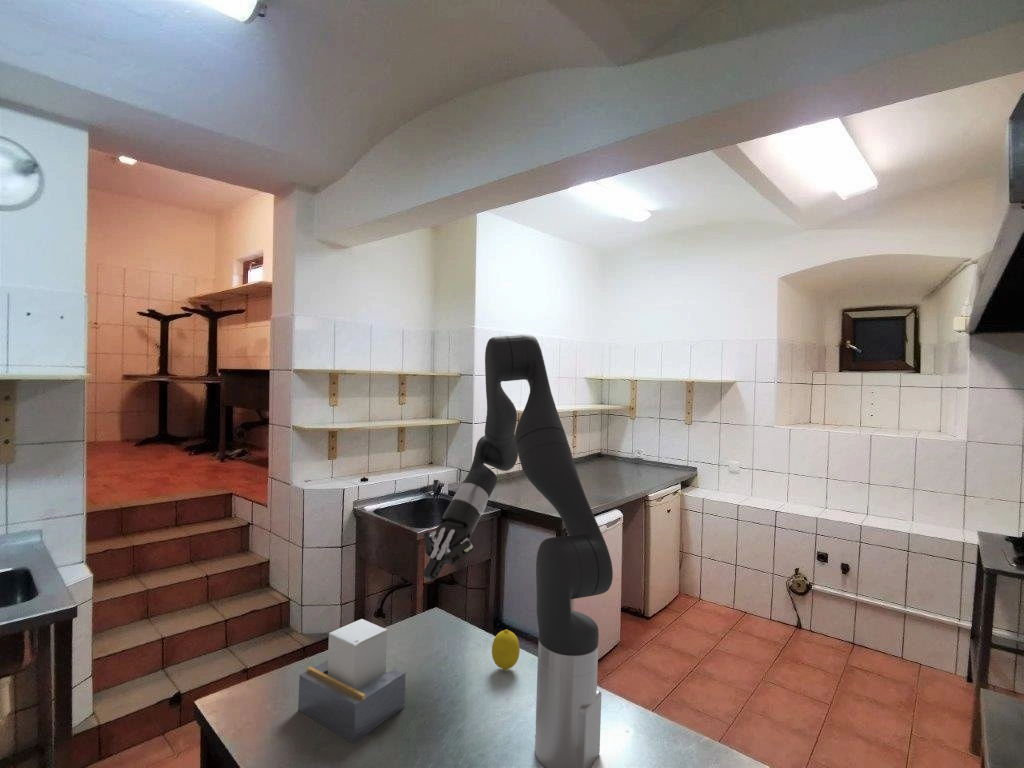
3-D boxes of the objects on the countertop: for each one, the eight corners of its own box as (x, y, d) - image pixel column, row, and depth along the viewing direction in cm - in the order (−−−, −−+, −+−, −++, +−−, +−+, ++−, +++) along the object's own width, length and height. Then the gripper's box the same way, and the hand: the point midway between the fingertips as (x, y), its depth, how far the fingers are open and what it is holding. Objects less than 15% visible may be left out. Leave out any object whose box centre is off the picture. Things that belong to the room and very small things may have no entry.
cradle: (404, 707, 87) (405, 668, 87) (353, 743, 78) (355, 700, 78) (350, 680, 95) (351, 644, 95) (298, 710, 85) (299, 671, 85)
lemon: (519, 663, 102) (521, 624, 102) (517, 679, 97) (519, 637, 97) (493, 661, 103) (494, 622, 103) (489, 676, 97) (490, 635, 97)
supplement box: (386, 701, 89) (389, 629, 89) (351, 722, 83) (354, 645, 83) (359, 685, 93) (362, 617, 93) (324, 705, 87) (327, 631, 87)
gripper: (436, 494, 114) (395, 562, 104) (483, 502, 107) (445, 576, 96) (450, 513, 119) (412, 581, 108) (496, 522, 112) (461, 595, 101)
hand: (428, 578), depth 102 cm, fingers closed
